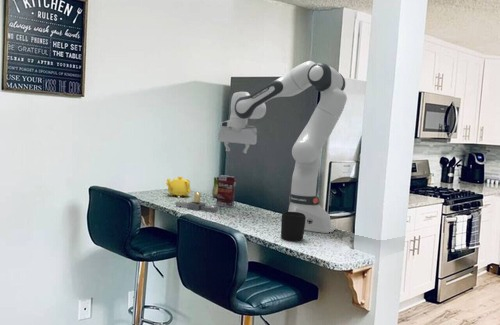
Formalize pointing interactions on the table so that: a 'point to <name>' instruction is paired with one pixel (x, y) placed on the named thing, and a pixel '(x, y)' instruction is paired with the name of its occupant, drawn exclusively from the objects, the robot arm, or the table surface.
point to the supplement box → (226, 191)
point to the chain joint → (197, 206)
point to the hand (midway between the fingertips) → (236, 152)
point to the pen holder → (292, 226)
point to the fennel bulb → (215, 187)
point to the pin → (197, 198)
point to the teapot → (178, 186)
